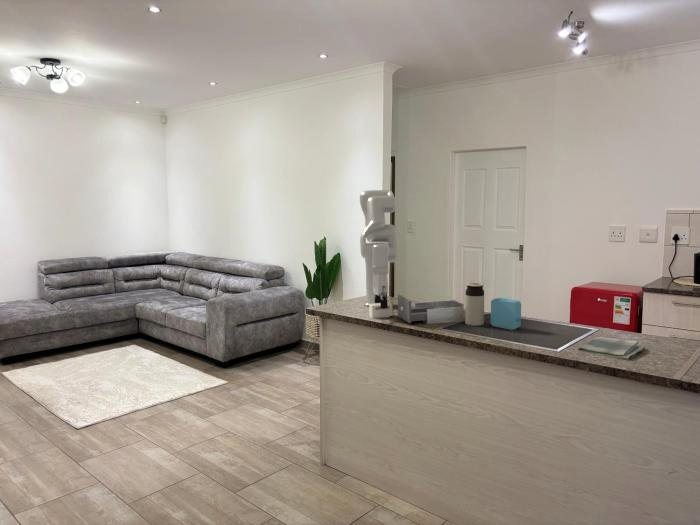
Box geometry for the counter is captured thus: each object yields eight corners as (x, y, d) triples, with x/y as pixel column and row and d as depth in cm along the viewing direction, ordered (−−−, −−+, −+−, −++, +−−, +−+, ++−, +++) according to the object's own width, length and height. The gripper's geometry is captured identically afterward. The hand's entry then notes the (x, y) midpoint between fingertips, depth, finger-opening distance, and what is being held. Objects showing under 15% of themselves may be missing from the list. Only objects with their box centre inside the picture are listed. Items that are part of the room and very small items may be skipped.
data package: (520, 328, 227) (521, 300, 225) (515, 330, 224) (516, 302, 222) (495, 323, 236) (496, 297, 234) (490, 325, 233) (490, 298, 231)
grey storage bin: (414, 316, 253) (414, 299, 252) (448, 313, 257) (448, 297, 256) (427, 324, 237) (427, 306, 236) (463, 321, 241) (463, 303, 240)
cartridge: (369, 316, 255) (369, 303, 255) (389, 314, 258) (389, 302, 257) (372, 318, 250) (372, 305, 250) (392, 316, 253) (392, 304, 252)
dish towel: (576, 351, 196) (576, 343, 195) (595, 341, 208) (595, 333, 207) (630, 362, 182) (631, 353, 182) (647, 351, 195) (648, 342, 194)
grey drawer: (395, 315, 250) (395, 294, 249) (432, 313, 254) (432, 292, 253) (406, 323, 235) (406, 300, 234) (445, 320, 240) (445, 298, 238)
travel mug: (471, 326, 231) (471, 285, 229) (461, 322, 239) (462, 283, 236) (487, 325, 234) (488, 284, 231) (477, 321, 241) (478, 281, 239)
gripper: (367, 269, 258) (368, 304, 260) (378, 272, 242) (378, 310, 243) (382, 268, 260) (383, 303, 262) (393, 272, 243) (394, 309, 245)
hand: (380, 306), depth 253 cm, fingers open, 9 cm apart
